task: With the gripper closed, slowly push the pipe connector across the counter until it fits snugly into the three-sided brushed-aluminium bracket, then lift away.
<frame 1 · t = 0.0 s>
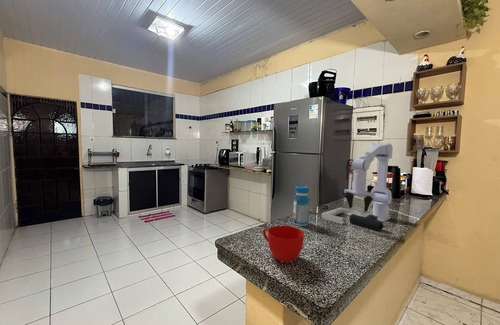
hand: (358, 209, 112), 10 cm above the countertop, tool pointing down, fingers open, 7 cm apart
aluminium bracket: (345, 218, 129), on the countertop
ceramic cup: (280, 257, 83), on the countertop
pipe connector: (368, 226, 119), on the countertop
beverage bottle: (300, 224, 119), on the countertop
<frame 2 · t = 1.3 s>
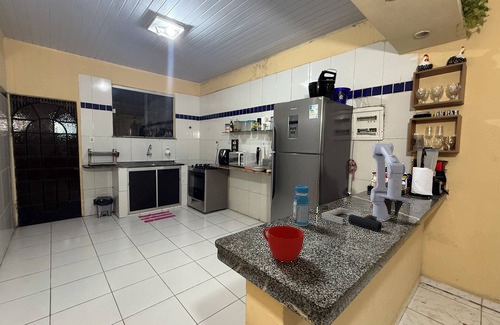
hand: (392, 214, 110), 8 cm above the countertop, tool pointing down, fingers closed
pipe connector: (367, 226, 118), on the countertop
everything else where it was.
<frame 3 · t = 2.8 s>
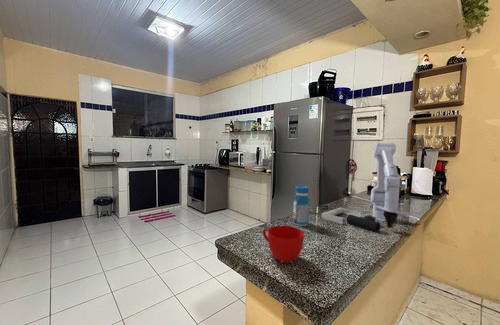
hand: (389, 227, 111), 2 cm above the countertop, tool pointing down, fingers closed
pipe connector: (365, 226, 118), on the countertop
everything else where it was.
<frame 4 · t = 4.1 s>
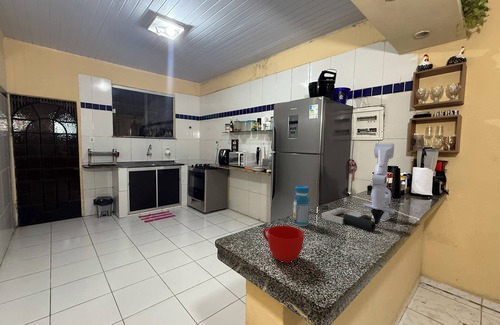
hand: (376, 223, 116), 2 cm above the countertop, tool pointing down, fingers closed
pipe connector: (361, 226, 118), on the countertop, touching aluminium bracket, gripper
everything else where it was.
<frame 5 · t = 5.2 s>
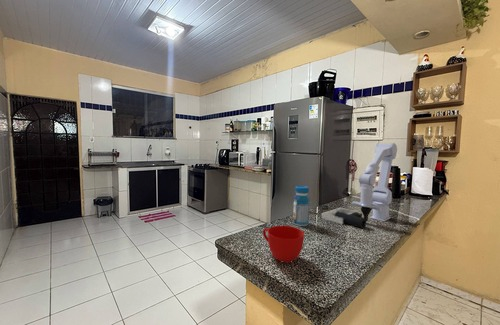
hand: (365, 220, 121), 2 cm above the countertop, tool pointing down, fingers closed, pressing on pipe connector
pipe connector: (352, 223, 123), on the countertop, touching aluminium bracket, gripper
everything else where it was.
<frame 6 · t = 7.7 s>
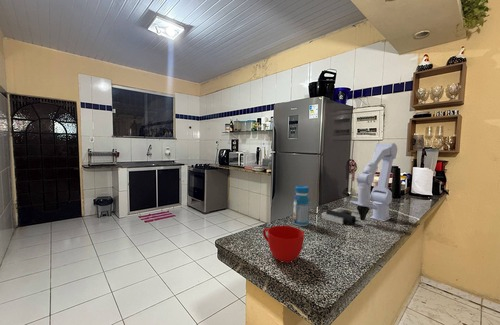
hand: (362, 220, 121), 2 cm above the countertop, tool pointing down, fingers closed
pipe connector: (343, 220, 127), on the countertop
everything else where it was.
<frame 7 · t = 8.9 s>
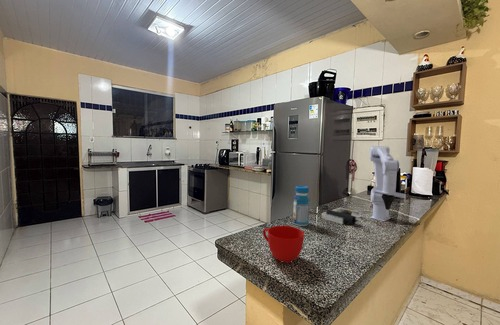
hand: (387, 209, 116), 9 cm above the countertop, tool pointing down, fingers closed
nothing on the countertop moved.
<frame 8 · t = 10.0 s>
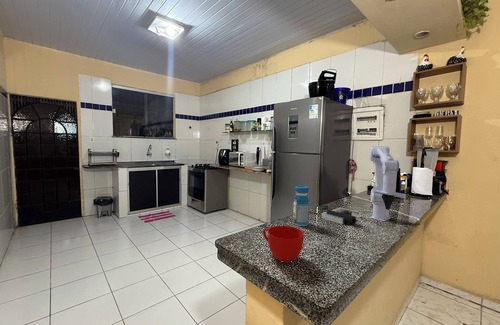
hand: (387, 209, 116), 9 cm above the countertop, tool pointing down, fingers closed
nothing on the countertop moved.
at the end: pipe connector inside the target area (3.4 cm from its centre), on the countertop; pipe connector tilted 0° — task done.
